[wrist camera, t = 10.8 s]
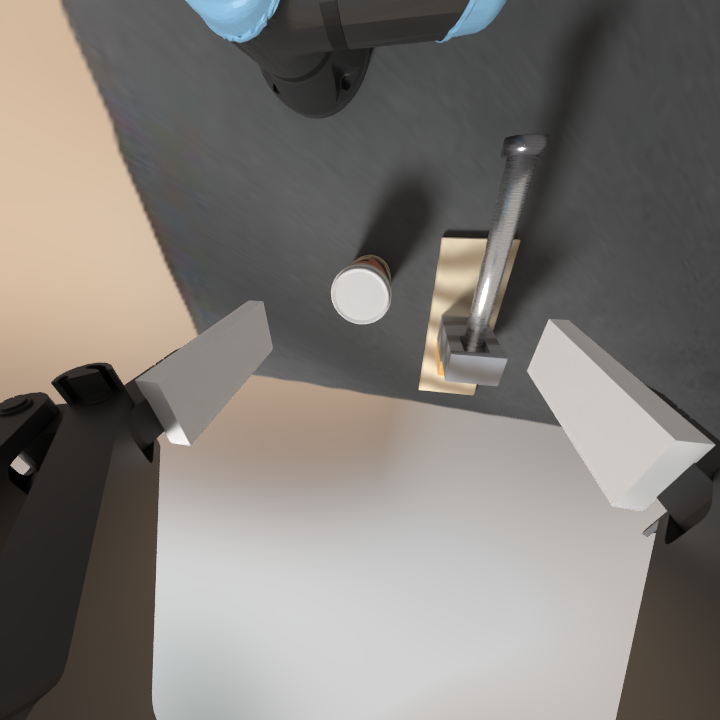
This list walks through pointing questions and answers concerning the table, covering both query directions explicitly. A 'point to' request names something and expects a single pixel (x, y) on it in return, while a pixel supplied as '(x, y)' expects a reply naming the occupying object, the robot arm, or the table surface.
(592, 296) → the table surface
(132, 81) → the table surface
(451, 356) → the bearing fixture
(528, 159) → the shaft
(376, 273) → the coffee cup
